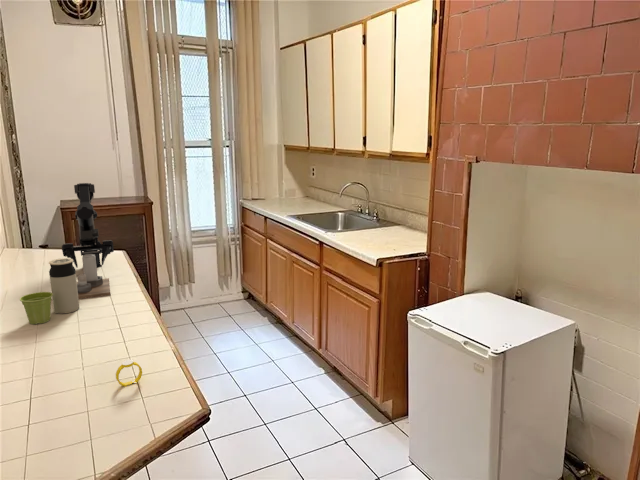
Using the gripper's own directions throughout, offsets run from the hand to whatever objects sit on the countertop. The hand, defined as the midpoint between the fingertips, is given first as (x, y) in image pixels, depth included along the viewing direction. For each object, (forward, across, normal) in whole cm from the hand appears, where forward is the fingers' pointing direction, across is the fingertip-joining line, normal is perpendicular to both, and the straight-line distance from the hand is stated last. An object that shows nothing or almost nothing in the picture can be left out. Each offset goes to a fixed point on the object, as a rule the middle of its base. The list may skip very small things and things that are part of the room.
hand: (89, 265), depth 189 cm
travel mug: (+23, -8, -10) cm, 27 cm away
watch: (+68, +9, -55) cm, 88 cm away
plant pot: (+29, -16, -15) cm, 36 cm away
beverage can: (+5, 0, +7) cm, 8 cm away
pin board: (+8, -2, +5) cm, 10 cm away
